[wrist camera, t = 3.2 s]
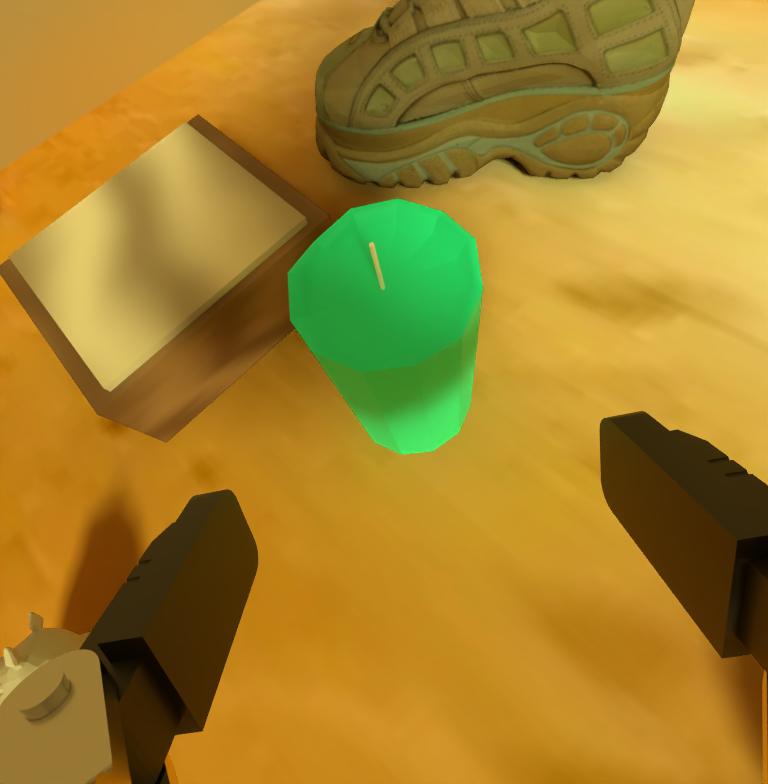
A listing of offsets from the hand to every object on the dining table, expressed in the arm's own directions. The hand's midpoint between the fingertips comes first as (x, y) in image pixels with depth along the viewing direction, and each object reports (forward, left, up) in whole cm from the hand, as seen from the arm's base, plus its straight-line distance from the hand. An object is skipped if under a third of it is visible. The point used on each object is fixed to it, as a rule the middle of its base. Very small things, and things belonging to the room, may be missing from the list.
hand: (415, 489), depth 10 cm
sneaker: (-19, -14, -12) cm, 26 cm away
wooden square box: (0, -19, -12) cm, 23 cm away
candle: (-4, -5, -12) cm, 13 cm away
